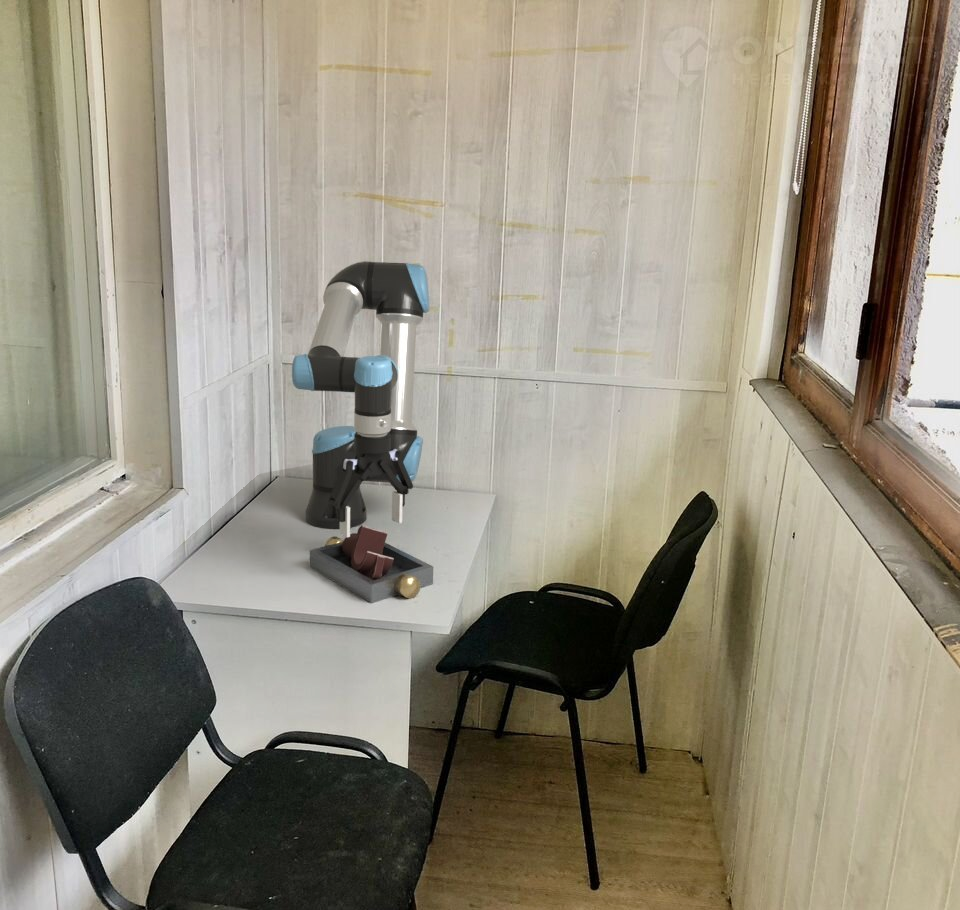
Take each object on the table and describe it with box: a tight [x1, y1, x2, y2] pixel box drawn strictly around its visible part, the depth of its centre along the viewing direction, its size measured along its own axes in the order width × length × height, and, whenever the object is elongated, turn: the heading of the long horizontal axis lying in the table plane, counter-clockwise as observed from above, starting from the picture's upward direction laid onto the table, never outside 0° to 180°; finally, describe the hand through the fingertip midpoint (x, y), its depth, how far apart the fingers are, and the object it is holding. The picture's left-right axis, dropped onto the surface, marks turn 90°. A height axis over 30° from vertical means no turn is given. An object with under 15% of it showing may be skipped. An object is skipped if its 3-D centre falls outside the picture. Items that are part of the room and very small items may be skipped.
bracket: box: [342, 524, 394, 580], centre depth 197 cm, size 6×17×10 cm, turn 28°
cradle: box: [309, 536, 434, 604], centre depth 198 cm, size 29×16×4 cm, turn 42°
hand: (371, 528), depth 196 cm, fingers open, 13 cm apart
